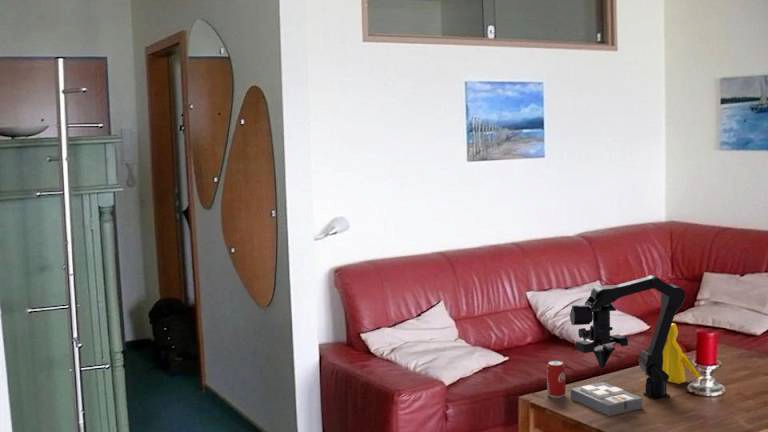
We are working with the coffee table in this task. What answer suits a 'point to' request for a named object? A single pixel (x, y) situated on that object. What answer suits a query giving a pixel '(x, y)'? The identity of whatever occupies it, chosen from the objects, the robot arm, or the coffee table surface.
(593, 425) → the coffee table surface
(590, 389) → the button
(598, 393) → the button
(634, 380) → the coffee table surface
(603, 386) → the button
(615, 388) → the button
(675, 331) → the figure statuette
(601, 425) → the coffee table surface
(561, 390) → the beverage can
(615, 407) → the panel
